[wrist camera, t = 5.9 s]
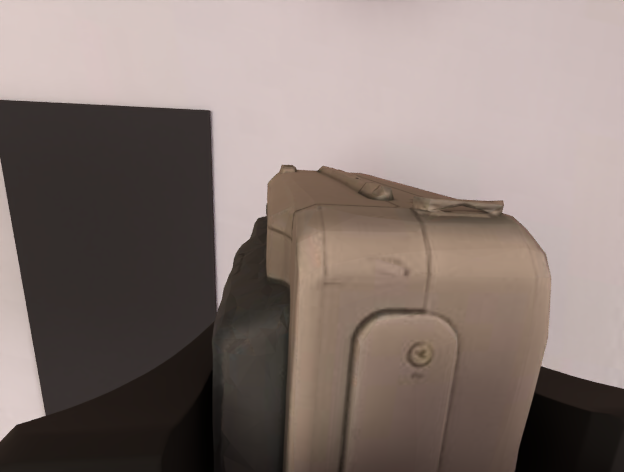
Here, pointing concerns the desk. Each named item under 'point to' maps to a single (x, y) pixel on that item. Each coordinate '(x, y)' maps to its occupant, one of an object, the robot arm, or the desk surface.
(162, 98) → the desk surface
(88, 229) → the desk pad
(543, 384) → the robot arm
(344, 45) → the desk surface
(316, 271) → the camera
